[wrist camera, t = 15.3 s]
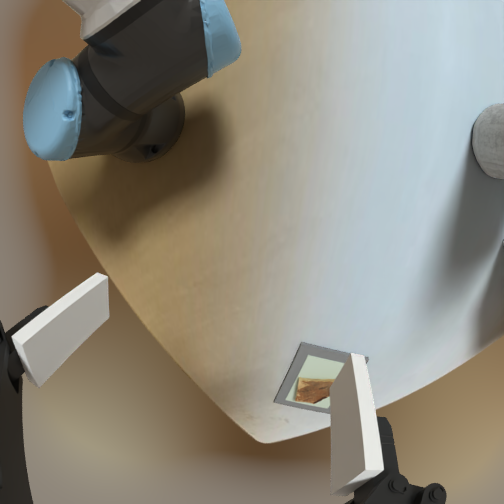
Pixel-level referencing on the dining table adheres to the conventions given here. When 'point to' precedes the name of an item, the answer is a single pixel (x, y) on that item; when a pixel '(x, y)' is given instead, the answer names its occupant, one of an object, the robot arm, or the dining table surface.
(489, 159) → the grey stoneware bottle
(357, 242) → the dining table surface
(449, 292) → the dining table surface
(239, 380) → the dining table surface
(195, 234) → the dining table surface
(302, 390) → the shard
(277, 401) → the mat
